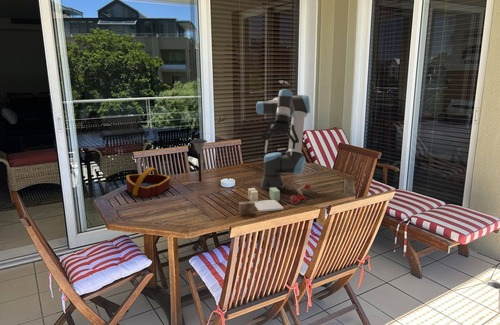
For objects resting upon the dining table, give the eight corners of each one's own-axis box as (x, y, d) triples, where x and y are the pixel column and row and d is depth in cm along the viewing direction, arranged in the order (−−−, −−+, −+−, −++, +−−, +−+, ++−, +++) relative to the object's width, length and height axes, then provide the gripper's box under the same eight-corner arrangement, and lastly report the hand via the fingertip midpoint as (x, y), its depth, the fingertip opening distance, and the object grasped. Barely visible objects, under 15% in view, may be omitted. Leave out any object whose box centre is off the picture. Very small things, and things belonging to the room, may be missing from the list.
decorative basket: (155, 202, 226) (157, 179, 222) (112, 193, 230) (113, 170, 227) (177, 187, 258) (179, 167, 255) (138, 179, 263) (140, 159, 259)
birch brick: (248, 197, 226) (248, 188, 224) (254, 197, 227) (254, 188, 225) (251, 202, 218) (251, 192, 217) (257, 201, 219) (257, 191, 218)
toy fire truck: (289, 203, 216) (289, 187, 214) (306, 198, 224) (306, 183, 221) (293, 204, 213) (293, 188, 211) (310, 200, 221) (310, 184, 219)
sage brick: (269, 197, 227) (269, 187, 226) (275, 196, 228) (275, 187, 227) (273, 201, 219) (273, 191, 218) (279, 200, 220) (279, 191, 219)
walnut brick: (240, 215, 198) (240, 204, 196) (238, 212, 201) (238, 202, 200) (254, 213, 200) (254, 203, 198) (252, 211, 203) (252, 200, 202)
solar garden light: (210, 181, 261) (209, 140, 254) (193, 183, 257) (191, 141, 250) (206, 177, 272) (204, 137, 266) (189, 179, 268) (188, 138, 261)
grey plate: (252, 203, 216) (252, 201, 216) (275, 201, 219) (275, 199, 219) (259, 211, 202) (259, 210, 201) (283, 209, 205) (283, 207, 205)
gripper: (259, 111, 199) (254, 148, 193) (305, 115, 195) (301, 153, 189) (260, 117, 206) (255, 153, 200) (305, 121, 202) (301, 157, 196)
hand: (278, 153), depth 195 cm, fingers open, 13 cm apart
